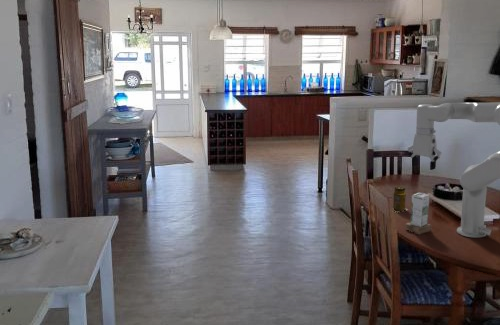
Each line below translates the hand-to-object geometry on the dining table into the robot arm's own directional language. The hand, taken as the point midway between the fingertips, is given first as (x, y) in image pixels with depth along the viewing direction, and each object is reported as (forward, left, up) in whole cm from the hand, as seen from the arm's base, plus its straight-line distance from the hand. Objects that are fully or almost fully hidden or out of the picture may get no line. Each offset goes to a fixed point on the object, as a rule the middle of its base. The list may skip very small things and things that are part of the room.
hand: (423, 167), depth 238 cm
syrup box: (-4, +7, -26) cm, 27 cm away
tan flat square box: (-4, +7, -28) cm, 29 cm away
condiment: (+22, -9, -29) cm, 37 cm away
